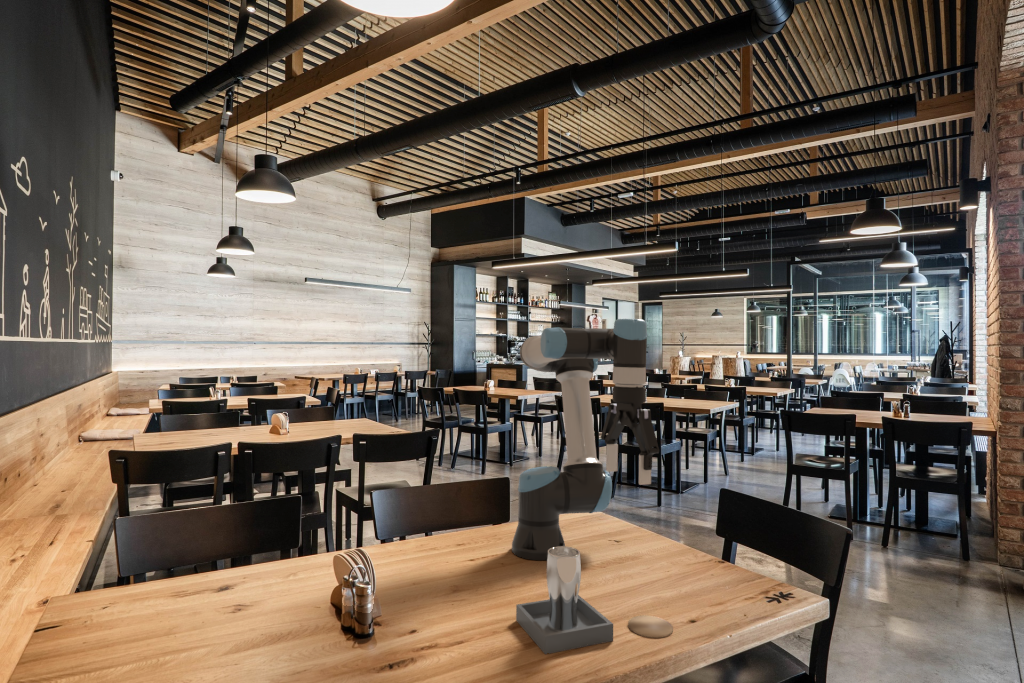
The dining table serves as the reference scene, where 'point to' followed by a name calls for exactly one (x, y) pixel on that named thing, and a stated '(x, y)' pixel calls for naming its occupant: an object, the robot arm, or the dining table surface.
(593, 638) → the tray
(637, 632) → the coaster
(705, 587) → the dining table surface
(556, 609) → the beer glass
